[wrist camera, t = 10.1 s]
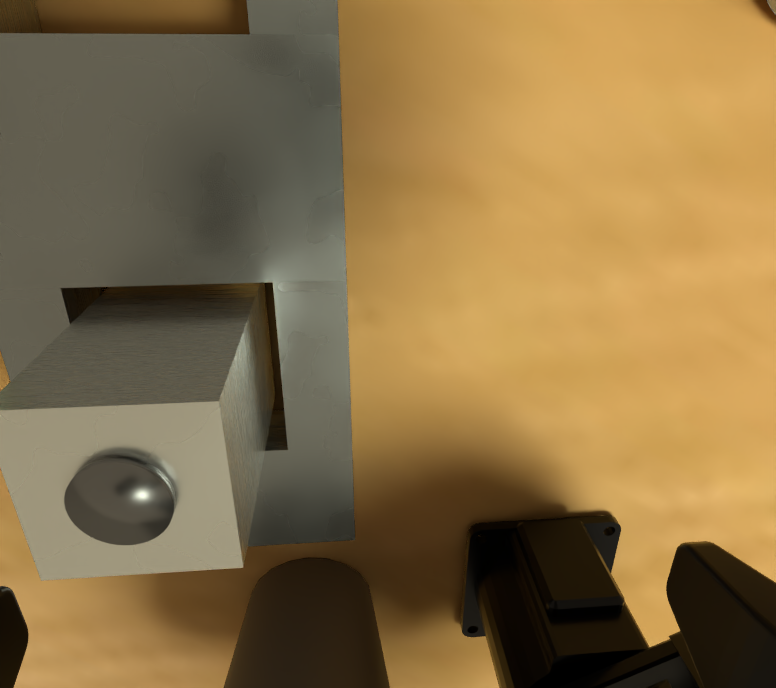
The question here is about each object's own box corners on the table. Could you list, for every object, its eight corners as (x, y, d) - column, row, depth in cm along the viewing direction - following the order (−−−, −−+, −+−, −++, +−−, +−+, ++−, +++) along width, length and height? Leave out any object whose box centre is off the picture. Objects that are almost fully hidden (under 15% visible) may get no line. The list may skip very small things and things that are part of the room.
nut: (275, 394, 21) (241, 577, 13) (145, 400, 20) (35, 591, 13) (263, 273, 19) (215, 409, 11) (118, 277, 18) (-29, 419, 11)
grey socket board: (353, 493, 23) (355, 539, 21) (95, 508, 22) (68, 557, 20) (319, -509, 12) (316, -648, 9) (-207, -550, 11) (-348, -711, 9)
